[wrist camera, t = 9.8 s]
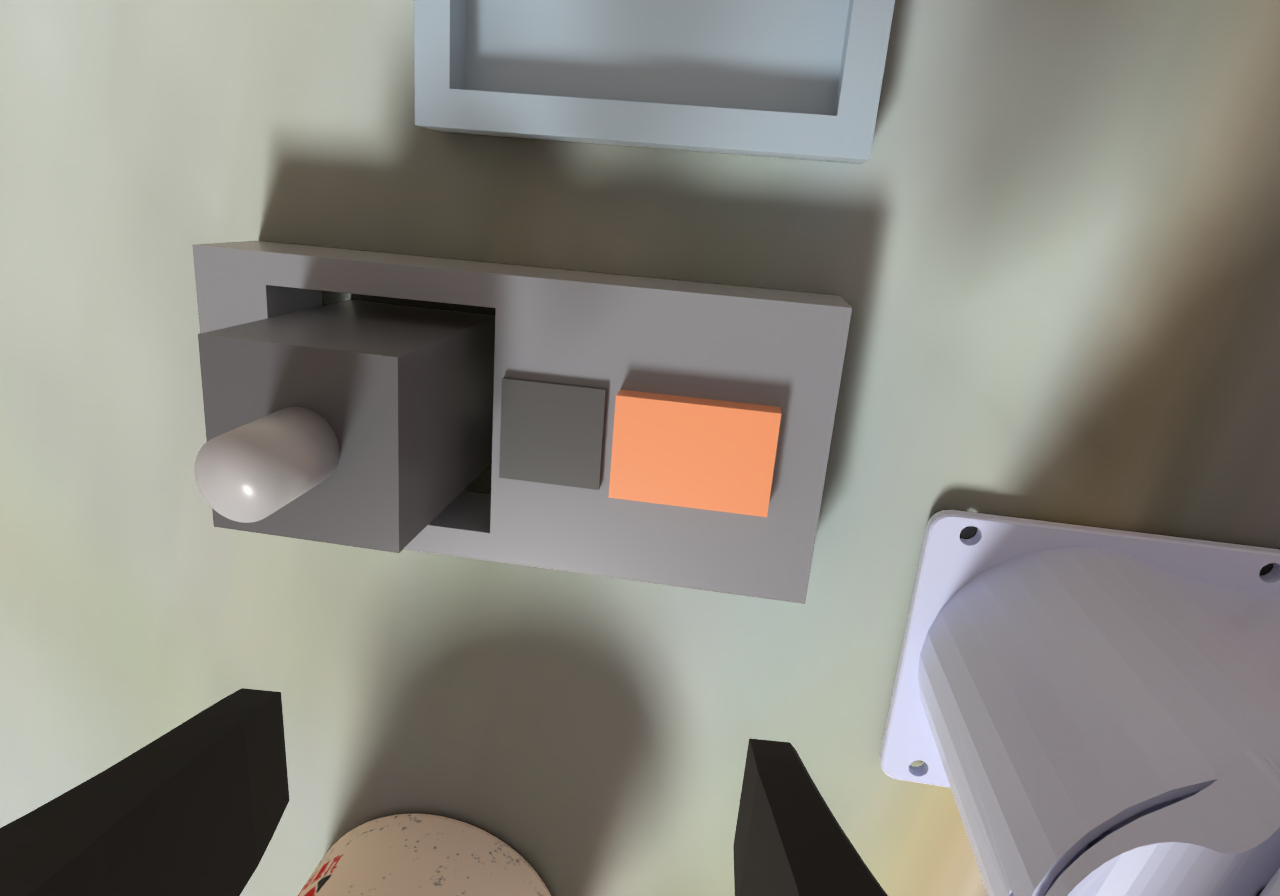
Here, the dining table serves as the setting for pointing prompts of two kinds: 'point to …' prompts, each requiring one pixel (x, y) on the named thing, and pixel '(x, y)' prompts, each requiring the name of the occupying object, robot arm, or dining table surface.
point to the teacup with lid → (422, 861)
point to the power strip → (608, 410)
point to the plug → (345, 420)
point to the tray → (657, 73)
